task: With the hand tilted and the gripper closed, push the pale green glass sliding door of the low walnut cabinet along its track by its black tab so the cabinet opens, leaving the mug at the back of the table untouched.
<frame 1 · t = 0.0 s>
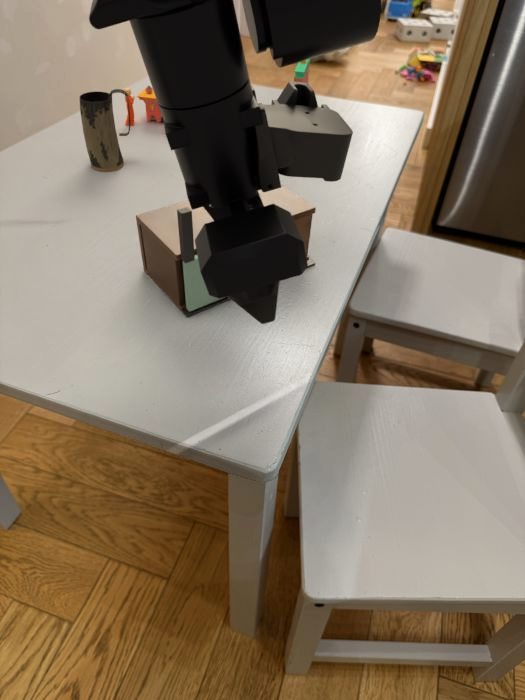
hand: (256, 284, 41), 14 cm above the table, tool pointing down, fingers open, 9 cm apart
cabinet: (228, 265, 67), on the table
sliding door: (222, 251, 57), point 7 cm above the table, slide at 0.0 cm
building blocks: (216, 126, 101), on the table
mug: (114, 165, 87), on the table
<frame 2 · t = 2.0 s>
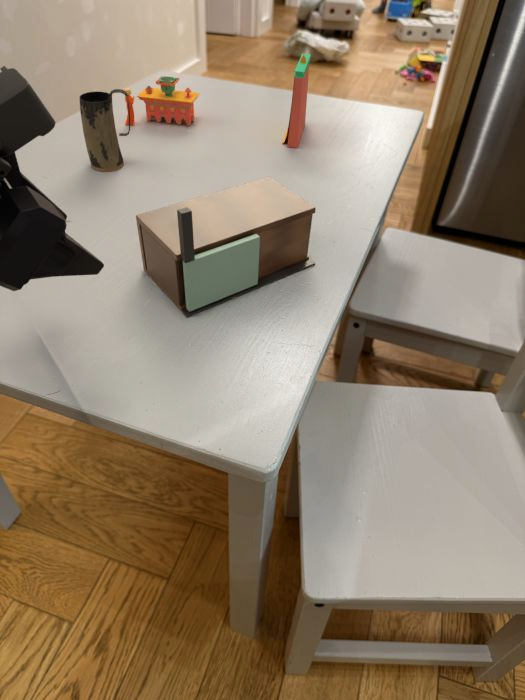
hand: (81, 243, 45), 14 cm above the table, tool tilted 40°, fingers open, 9 cm apart
nothing on the table moved.
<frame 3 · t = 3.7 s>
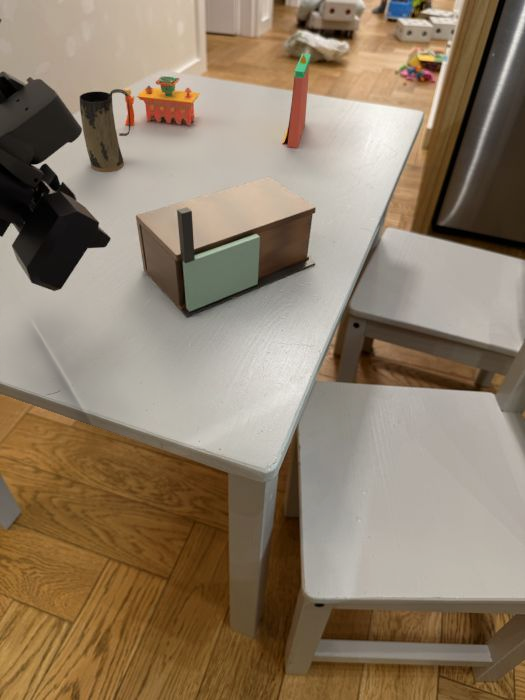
hand: (106, 241, 47), 13 cm above the table, tool tilted 45°, fingers closed
nothing on the table moved.
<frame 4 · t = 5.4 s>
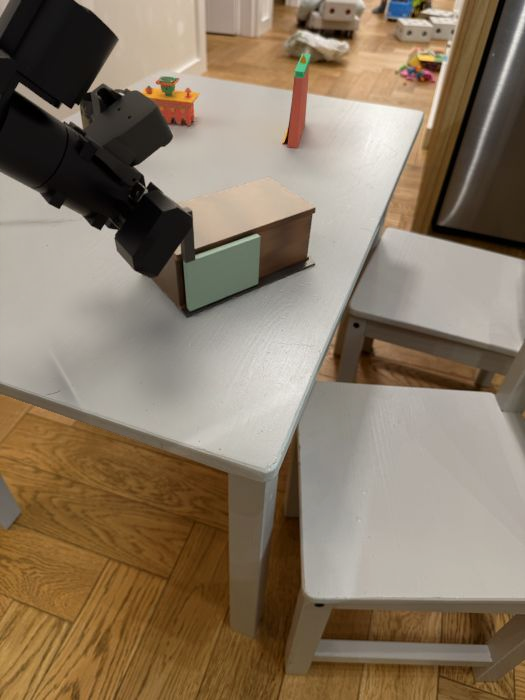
hand: (179, 235, 52), 11 cm above the table, tool tilted 45°, fingers closed, pressing on sliding door
sliding door: (222, 251, 57), point 7 cm above the table, slide at 0.1 cm, touching gripper
everything else where it was.
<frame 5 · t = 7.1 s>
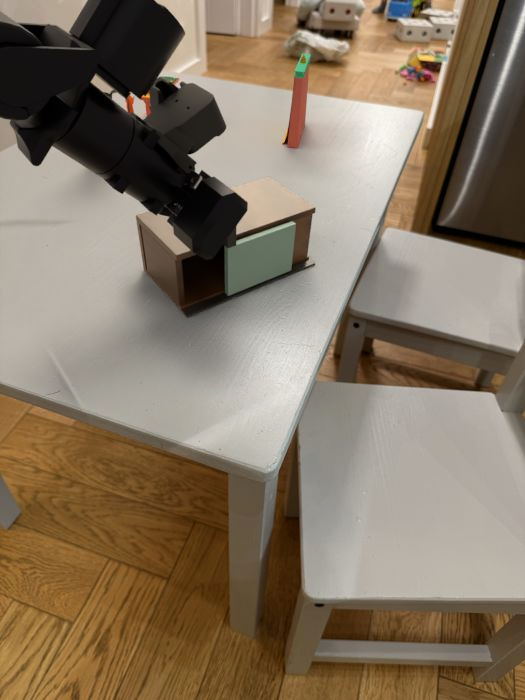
hand: (222, 223, 54), 11 cm above the table, tool tilted 45°, fingers closed, pressing on sliding door
sliding door: (260, 237, 59), point 7 cm above the table, slide at 5.5 cm, touching gripper
everything else where it was.
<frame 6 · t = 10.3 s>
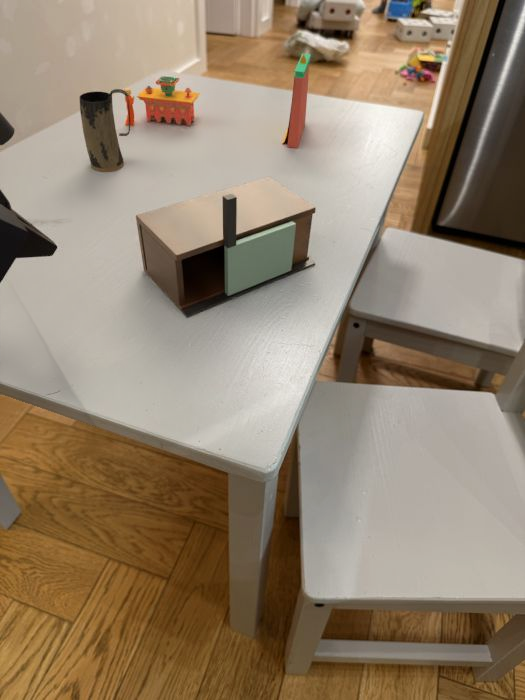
hand: (53, 249, 44), 14 cm above the table, tool tilted 45°, fingers closed
sliding door: (260, 237, 59), point 7 cm above the table, slide at 5.5 cm
everything else where it was.
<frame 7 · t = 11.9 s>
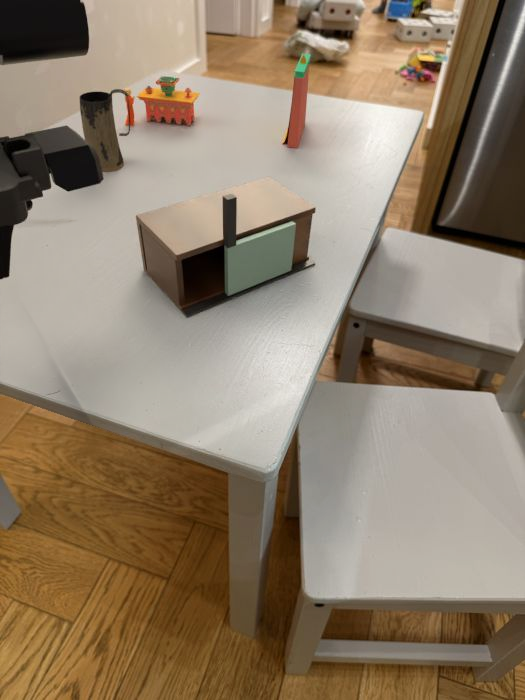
hand: (2, 276, 42), 13 cm above the table, tool pointing down, fingers closed
nothing on the table moved.
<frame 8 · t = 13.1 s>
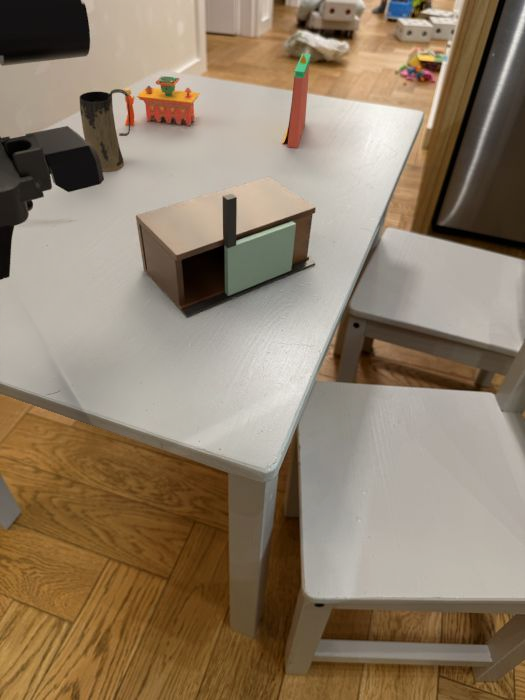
hand: (3, 276, 42), 13 cm above the table, tool pointing down, fingers closed
nothing on the table moved.
at the end: sliding door slide at 5.5 cm; mug moved 0.2 cm from its start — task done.
